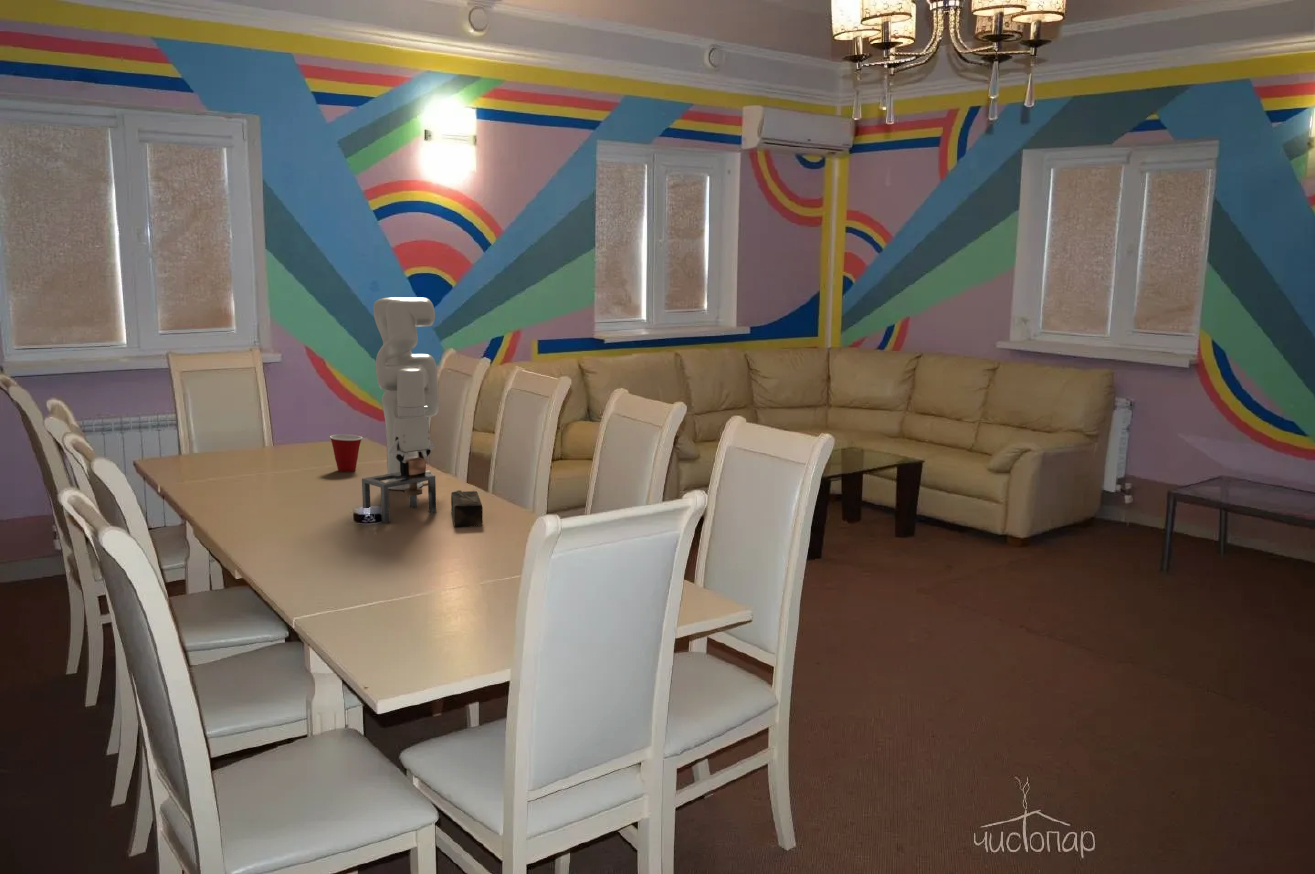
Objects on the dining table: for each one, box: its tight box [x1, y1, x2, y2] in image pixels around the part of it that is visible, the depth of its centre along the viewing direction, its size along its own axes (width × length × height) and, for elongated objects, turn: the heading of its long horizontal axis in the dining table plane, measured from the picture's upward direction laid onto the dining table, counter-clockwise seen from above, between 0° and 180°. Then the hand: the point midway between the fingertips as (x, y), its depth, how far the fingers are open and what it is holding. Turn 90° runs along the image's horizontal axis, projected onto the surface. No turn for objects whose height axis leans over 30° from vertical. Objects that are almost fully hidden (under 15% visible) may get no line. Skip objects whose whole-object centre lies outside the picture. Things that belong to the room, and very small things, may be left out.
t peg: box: [404, 456, 427, 496], centre depth 291 cm, size 5×5×10 cm
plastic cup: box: [329, 434, 363, 473], centre depth 346 cm, size 11×11×12 cm
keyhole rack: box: [361, 472, 437, 524], centre depth 288 cm, size 17×11×11 cm, turn 138°
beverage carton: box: [450, 489, 484, 528], centre depth 286 cm, size 8×19×7 cm, turn 14°
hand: (413, 473), depth 291 cm, fingers closed on t peg, 4 cm apart
